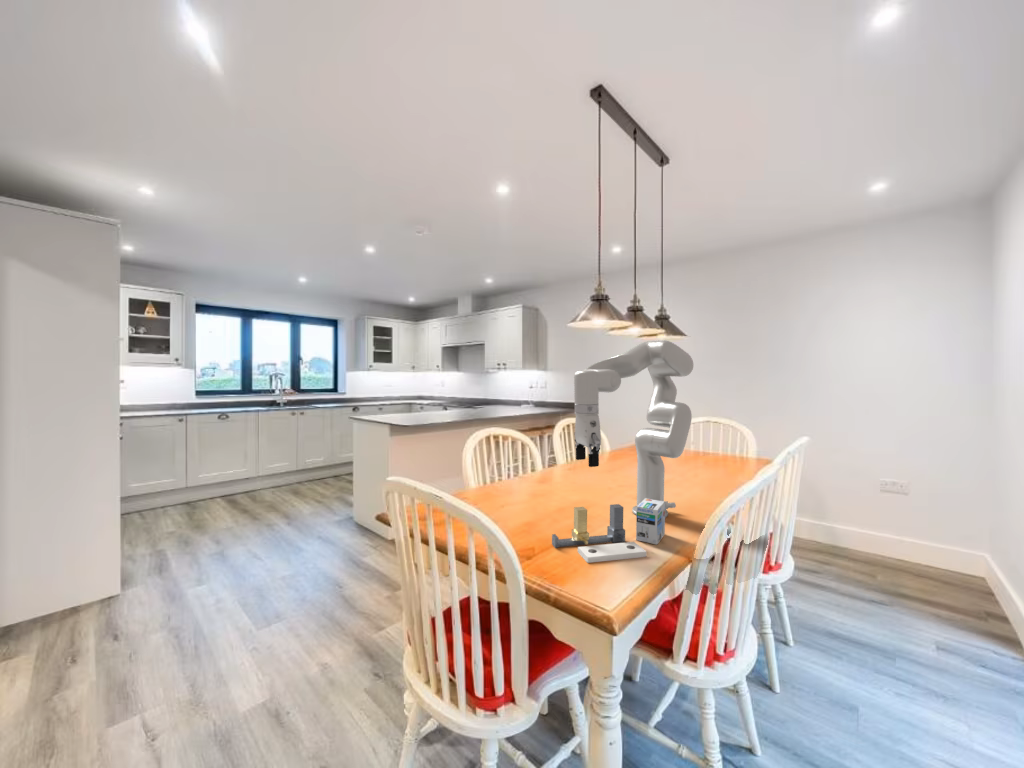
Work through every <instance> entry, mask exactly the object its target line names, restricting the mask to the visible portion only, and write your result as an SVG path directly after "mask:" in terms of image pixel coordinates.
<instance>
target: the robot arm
mask: <svg viewBox="0 0 1024 768" xmlns="http://www.w3.org/2000/svg"><path fill="white" fill-rule="evenodd" d="M645 369H647V371H648V373H649V375H650V377H651V380H652V383H653V385H652V386H653V389H652V394H651V397H650V401H649V404H648V408H647V411H646V421H647V422H648V424H650V425H651V426H655V427H661V428H668V429H669V430H667V429H661V428H653V427H644V428H641V429H640V430H638V431H637V432H636V434H635V436H634V437H635V438H634V444H635V450H636V455H637V457H636V458H637V468H636V469H637V470H636V471H637V472H636V473H637V475H636V476H637V477H636V480H637V481H636V505H635V506H632V509H631V510H632V513H633V514H634V515H635V516H637V506H638V505H639V504H640V503H641V502H642V501H643V500H644V499H645V498H647V499H652V500H657V501H663V502H665V518H667V517H668V516H669V511H668V509H675V508H676V507H677V506H676V502H674V501H673V502H669V501H666V500H665V471H666V469H665V464H664V461H663V459H662V457H663V458H664V457H665V458H669V459H677V458H679V457H681V456H682V455H683V453H684V450H685V447H686V443H687V439H688V436H689V432H690V428H691V424H692V417H693V416H692V409H691V408H690V407H689V405H688V404H686V403H684V402H679V401H676V399H677V394H678V392H677V391H678V389H677V386H676V384H675V383H674V381H673V380H672V378H671V377H676V378H677V377H683V378H684V377H687V376H690V374H691V373H692V372H693V370H694V361H693V357H692V356H691V355H690V354H689V353H688V352H687V351H686V350H684V349H683V348H681V347H680V346H679V345H677V344H675V343H674V342H672V341H669V340H666V339H665V340H648V341H643V342H640V343H639V344H636V346H634V347H632V348H630V349H629V350H626V351H625V352H623V353H622V354H618V355H615V356H612V357H610V358H605V359H603V360H600V361H597V362H595V363H593V364H591V365H590V366H588V367H586V368H584V369H583V370H577V371H575V372H574V377H573V378H574V381H573V384H574V385H573V386H574V391H573V392H574V394H573V395H574V415H575V419H574V420H575V422H574V423H575V425H574V441H575V446H574V447H575V460H576V461H581V460H583V461H584V460H586V447H587V449H588V452H589V453H588V455H587V456H588V467H589V468H593V467H594V468H595V467H599V465H600V460H599V459H600V457H599V455H600V451H601V445H602V435H601V433H602V432H601V422H600V418H599V417H600V416H599V410H600V408H599V403H600V402H599V400H600V399H599V394H600V393H613V392H615V391H617V390H618V389H619V388H620V387H621V383H622V379H625V378H630V377H634V376H636V375H638V374H640V373H641V372H642V371H644V370H645Z"/></svg>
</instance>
